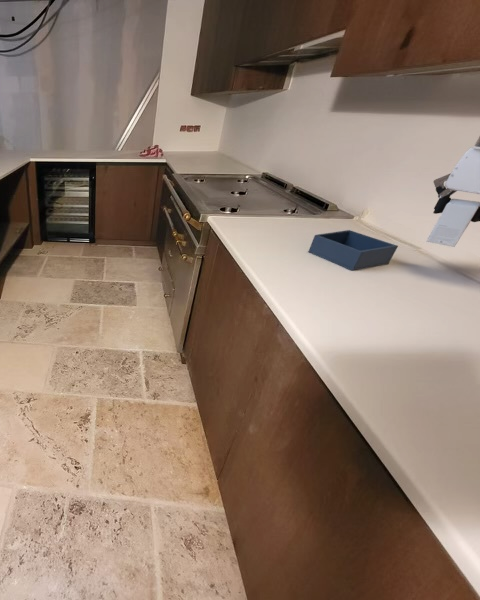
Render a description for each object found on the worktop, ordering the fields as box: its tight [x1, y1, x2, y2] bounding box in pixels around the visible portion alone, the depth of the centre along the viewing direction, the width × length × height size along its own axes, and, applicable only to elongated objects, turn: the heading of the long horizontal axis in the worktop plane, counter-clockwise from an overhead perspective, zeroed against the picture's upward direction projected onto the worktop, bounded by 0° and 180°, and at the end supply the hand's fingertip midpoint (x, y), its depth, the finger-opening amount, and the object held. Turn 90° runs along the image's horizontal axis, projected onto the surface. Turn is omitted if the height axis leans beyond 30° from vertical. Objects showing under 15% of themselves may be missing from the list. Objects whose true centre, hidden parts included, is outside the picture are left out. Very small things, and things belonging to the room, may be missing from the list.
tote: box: [307, 229, 399, 272], centre depth 99 cm, size 15×15×6 cm
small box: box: [426, 198, 480, 248], centre depth 85 cm, size 8×6×10 cm
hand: (456, 216), depth 84 cm, fingers closed on small box, 7 cm apart
